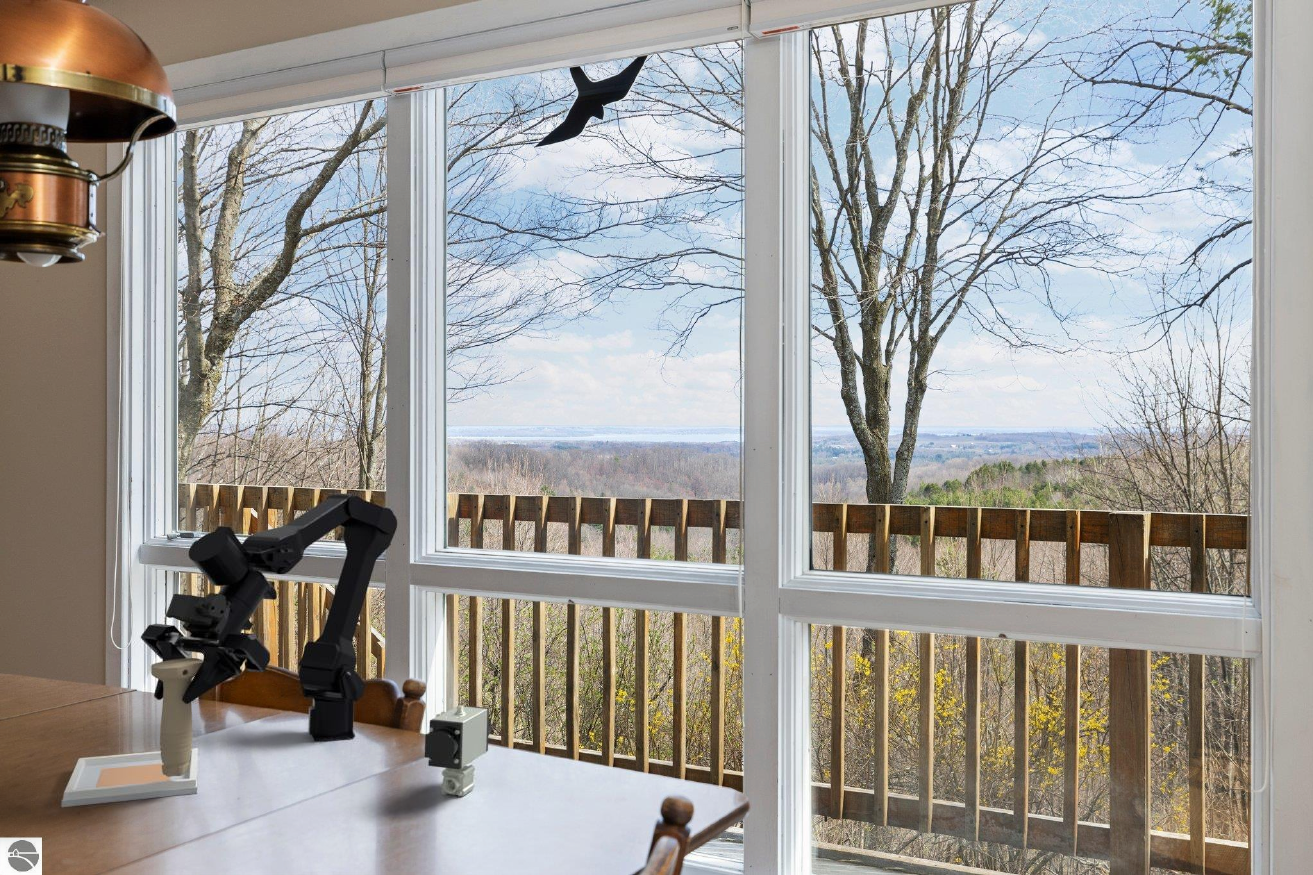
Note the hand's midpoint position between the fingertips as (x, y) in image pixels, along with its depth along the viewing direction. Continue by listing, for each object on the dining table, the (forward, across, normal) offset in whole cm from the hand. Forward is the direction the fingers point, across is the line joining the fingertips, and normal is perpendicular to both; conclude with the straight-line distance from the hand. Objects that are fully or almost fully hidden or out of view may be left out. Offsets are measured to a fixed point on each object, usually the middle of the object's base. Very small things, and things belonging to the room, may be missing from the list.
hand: (170, 700), depth 133 cm
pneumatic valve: (-3, +33, +23) cm, 40 cm away
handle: (+6, 0, +8) cm, 11 cm away
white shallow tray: (+7, -10, +12) cm, 17 cm away
